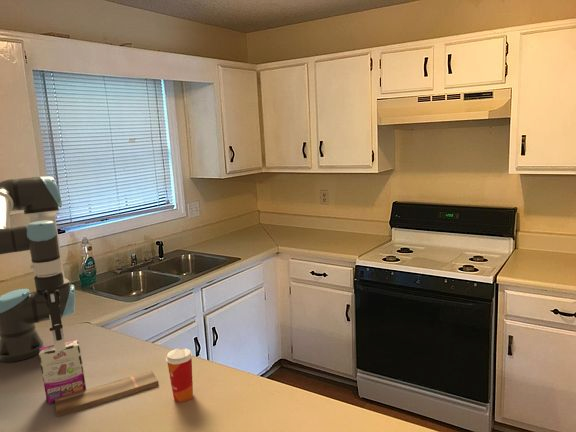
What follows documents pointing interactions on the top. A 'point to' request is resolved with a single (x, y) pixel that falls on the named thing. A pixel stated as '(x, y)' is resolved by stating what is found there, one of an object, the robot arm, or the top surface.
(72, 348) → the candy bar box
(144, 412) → the top surface
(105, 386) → the walnut board
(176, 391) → the paper cup
